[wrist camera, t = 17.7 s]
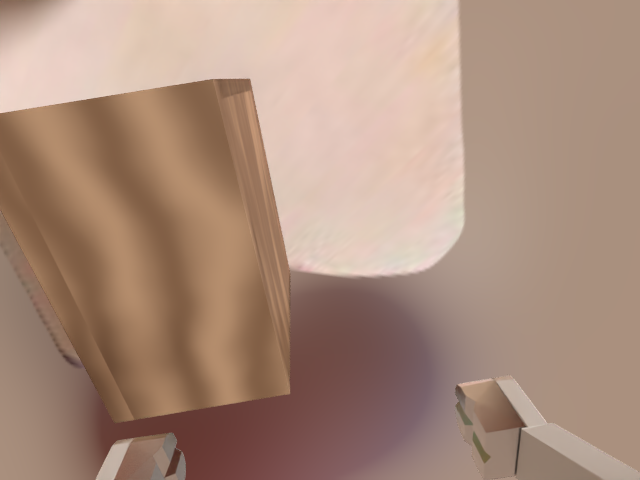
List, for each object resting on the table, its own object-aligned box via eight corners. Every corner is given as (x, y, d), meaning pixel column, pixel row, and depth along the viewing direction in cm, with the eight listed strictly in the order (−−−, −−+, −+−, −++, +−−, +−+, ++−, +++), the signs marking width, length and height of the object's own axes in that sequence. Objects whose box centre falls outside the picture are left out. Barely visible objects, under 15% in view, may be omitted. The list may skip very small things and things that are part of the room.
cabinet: (181, 291, 53) (114, 423, 33) (113, 100, 42) (-48, 121, 22) (290, 274, 53) (289, 393, 33) (249, 78, 42) (212, 79, 22)
